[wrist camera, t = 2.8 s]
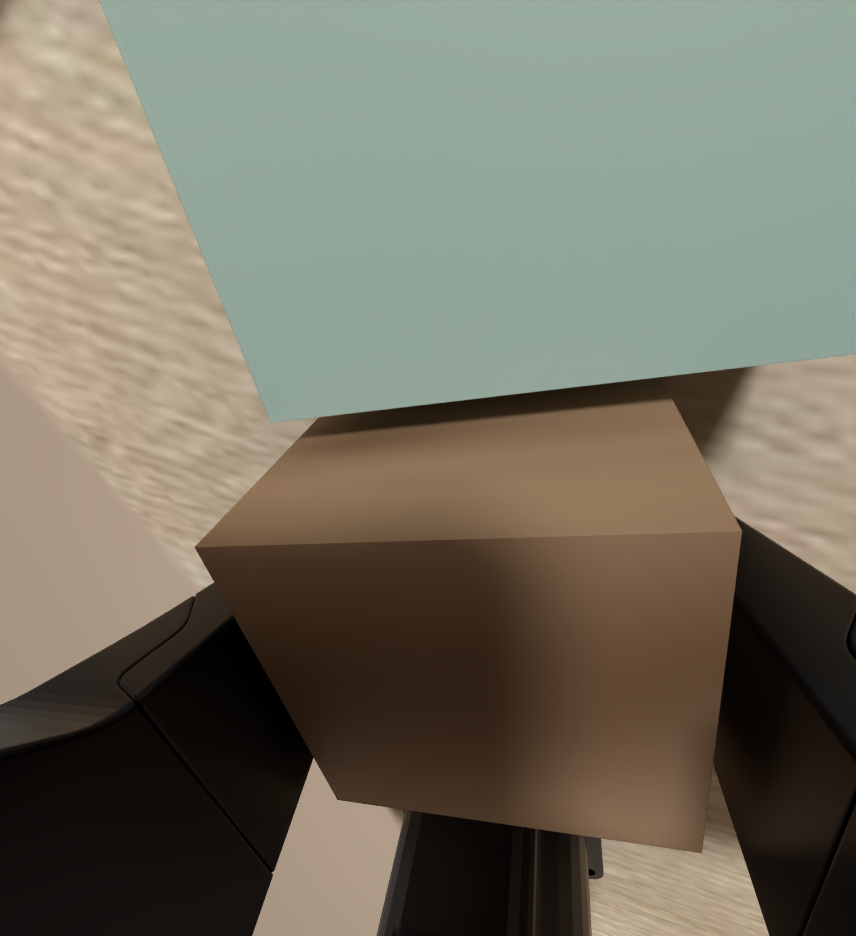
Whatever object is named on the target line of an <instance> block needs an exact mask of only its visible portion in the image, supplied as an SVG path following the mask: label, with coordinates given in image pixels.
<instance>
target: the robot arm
mask: <svg viewBox="0 0 856 936" xmlns="http://www.w3.org/2000/svg"><path fill="white" fill-rule="evenodd" d="M734 517H735V516H734ZM735 519H736V521H737V523H738V525H739V526H740V528H741V530H742V536H741V544H740V552H739V560H738V567H737V575H736V583H735V591H734V599H733V607H732V615H731V623H730V631H729V639H728V647H727V655H726V663H725V671H724V679H723V687H722V695H721V703H720V711H719V719H718V727H717V735H716V743H715V751H714V759H713V764H714V767H715V770H716V773H717V777H718V780H719V783H720V786H721V789H722V792H723V795H724V798H725V801H726V804H727V807H728V810H729V813H730V816H731V819H732V822H733V825H734V829H735V832H736V835H737V838H738V841H739V844H740V847H741V850H742V853H743V856H744V859H745V862H746V865H747V868H748V871H749V874H750V877H751V880H752V884H753V887H754V890H755V893H756V896H757V899H758V902H759V905H760V908H761V911H762V914H763V917H764V920H765V923H766V926H767V929H768V932H769V936H856V594H855V593H853V592H852V591H850V590H848V589H847V588H845V587H844V586H842V585H841V584H839V583H838V582H836V581H834V580H833V579H831V578H830V577H828V576H827V575H825V574H824V573H822V572H821V571H819V570H817V569H816V568H814V567H813V566H811V565H810V564H808V563H807V562H805V561H803V560H802V559H800V558H799V557H797V556H796V555H794V554H793V553H791V552H790V551H788V550H786V549H785V548H783V547H782V546H780V545H779V544H777V543H776V542H774V541H772V540H771V539H769V538H768V537H766V536H765V535H763V534H762V533H760V532H758V531H757V530H755V529H754V528H752V527H751V526H749V525H748V524H746V523H745V522H743V521H741V520H740V519H738V518H737V517H735ZM313 758H314V757H313V755H312V754H311V752H310V750H309V748H308V747H307V745H306V743H305V741H304V739H303V738H302V736H301V734H300V732H299V731H298V729H297V727H296V725H295V724H294V722H293V720H292V718H291V716H290V715H289V713H288V711H287V709H286V708H285V706H284V704H283V702H282V701H281V699H280V697H279V695H278V694H277V692H276V690H275V688H274V686H273V685H272V683H271V681H270V679H269V678H268V676H267V674H266V672H265V671H264V669H263V667H262V665H261V663H260V662H259V660H258V658H257V656H256V655H255V653H254V651H253V649H252V648H251V646H250V644H249V642H248V640H247V639H246V637H245V635H244V633H243V632H242V630H241V628H240V626H239V625H238V623H237V621H236V619H235V618H234V616H233V614H232V612H231V610H230V609H229V607H228V605H227V603H226V602H225V600H224V598H223V596H222V595H221V593H220V591H219V589H218V587H217V586H216V584H215V582H214V583H213V584H211V585H209V586H208V587H206V588H205V589H203V590H201V591H200V592H198V593H197V594H196V596H195V597H194V596H192V597H190V598H189V599H187V600H186V601H184V602H182V603H181V604H179V605H178V606H176V607H174V608H173V609H171V610H170V611H168V612H166V613H165V614H163V615H161V616H160V617H158V618H156V619H155V620H153V621H151V622H150V623H148V624H147V625H145V626H143V627H142V628H140V629H138V630H136V631H135V632H133V633H131V634H129V635H128V636H126V637H124V638H122V639H121V640H119V641H117V642H116V643H114V644H112V645H110V646H109V647H107V648H105V649H103V650H101V651H100V652H98V653H96V654H94V655H93V656H91V657H89V658H87V659H86V660H84V661H82V662H80V663H78V664H77V665H75V666H73V667H71V668H69V669H68V670H66V671H64V672H63V673H61V674H59V675H57V676H55V677H54V678H52V679H50V680H49V681H47V682H45V683H43V684H41V685H39V686H38V687H36V688H34V689H33V690H30V691H29V692H27V693H25V694H23V695H21V696H19V697H17V698H15V699H13V700H10V701H8V702H6V703H4V704H1V705H0V936H252V934H253V931H254V928H255V925H256V923H257V920H258V917H259V914H260V911H261V908H262V905H263V902H264V900H265V896H266V894H267V891H268V888H269V885H270V882H271V879H272V877H273V874H272V873H271V872H273V871H274V870H275V867H276V864H277V861H278V858H279V855H280V853H281V850H282V847H283V844H284V841H285V838H286V835H287V832H288V830H289V827H290V824H291V821H292V818H293V815H294V812H295V809H296V807H297V804H298V801H299V798H300V795H301V792H302V789H303V786H304V783H305V780H306V778H307V775H308V772H309V769H310V766H311V763H312V760H313ZM403 811H404V813H405V815H404V820H403V824H402V828H401V833H400V837H399V841H398V846H397V851H396V854H395V859H394V863H393V868H392V872H391V876H390V880H389V884H388V889H387V893H386V898H385V902H384V906H383V910H382V915H381V919H380V923H379V928H378V932H377V936H592V934H591V914H590V895H589V879H599V878H601V877H603V861H602V849H601V838H595V837H589V836H582V835H575V834H568V833H561V832H554V831H548V830H541V829H534V828H527V827H520V826H513V825H506V824H500V823H493V822H486V821H479V820H472V819H465V818H459V817H452V816H445V815H438V814H431V813H424V812H417V811H411V810H404V809H403Z"/></svg>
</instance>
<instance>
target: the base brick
mask: <svg viewBox="0 0 856 936" xmlns="http://www.w3.org/2000/svg"><path fill="white" fill-rule="evenodd" d="M99 1H100V4H101V6H102V9H103V11H104V13H105V16H106V18H107V21H108V23H109V26H110V28H111V31H112V33H113V36H114V38H115V41H116V43H117V45H118V48H119V50H120V53H121V55H122V58H123V60H124V63H125V65H126V68H127V70H128V73H129V75H130V77H131V80H132V82H133V85H134V87H135V90H136V92H137V95H138V97H139V100H140V102H141V105H142V107H143V109H144V112H145V114H146V117H147V119H148V122H149V124H150V127H151V129H152V132H153V134H154V137H155V139H156V141H157V144H158V146H159V149H160V151H161V154H162V156H163V159H164V161H165V164H166V166H167V169H168V171H169V174H170V176H171V178H172V181H173V183H174V186H175V188H176V191H177V193H178V196H179V198H180V201H181V203H182V206H183V208H184V210H185V213H186V215H187V218H188V220H189V223H190V225H191V228H192V230H193V233H194V235H195V238H196V240H197V242H198V245H199V247H200V250H201V252H202V255H203V257H204V260H205V262H206V265H207V267H208V270H209V272H210V274H211V277H212V279H213V282H214V284H215V287H216V289H217V292H218V294H219V297H220V299H221V302H222V304H223V306H224V309H225V311H226V314H227V316H228V319H229V321H230V324H231V326H232V329H233V331H234V334H235V336H236V338H237V341H238V343H239V346H240V348H241V351H242V353H243V356H244V358H245V361H246V363H247V366H248V368H249V370H250V373H251V375H252V378H253V380H254V383H255V385H256V388H257V390H258V393H259V395H260V398H261V400H262V402H263V405H264V407H265V410H266V412H267V415H268V417H269V420H270V422H271V423H273V422H282V421H290V420H299V419H307V418H316V417H324V416H333V415H341V414H350V413H358V412H367V411H375V410H384V409H392V408H401V407H410V406H418V405H427V404H435V403H444V402H452V401H461V400H469V399H478V398H486V397H495V396H503V395H512V394H520V393H529V392H537V391H546V390H554V389H563V388H572V387H580V386H589V385H597V384H606V383H614V382H623V381H631V380H640V379H648V378H657V377H665V376H674V375H682V374H691V373H699V372H708V371H717V370H725V369H734V368H742V367H751V366H759V365H768V364H776V363H785V362H793V361H802V360H810V359H819V358H827V357H836V356H844V355H853V354H856V0H99Z"/></svg>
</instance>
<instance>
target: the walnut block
mask: <svg viewBox="0 0 856 936" xmlns="http://www.w3.org/2000/svg"><path fill="white" fill-rule="evenodd" d="M741 536H742V530H741V528H740V526H739V525H738V523H737V521H736V519H735V517H734V515H733V513H732V511H731V509H730V507H729V506H728V504H727V502H726V500H725V498H724V496H723V494H722V492H721V490H720V489H719V487H718V485H717V483H716V481H715V479H714V477H713V475H712V473H711V471H710V470H709V468H708V466H707V464H706V462H705V460H704V458H703V456H702V454H701V453H700V451H699V449H698V447H697V445H696V443H695V441H694V439H693V437H692V435H691V434H690V432H689V430H688V428H687V426H686V424H685V422H684V420H683V418H682V417H681V415H680V413H679V411H678V409H677V407H676V405H675V403H674V401H673V400H672V398H671V396H670V394H669V392H668V390H667V388H666V386H665V384H664V382H663V381H662V379H661V377H657V378H648V379H640V380H631V381H623V382H614V383H606V384H597V385H589V386H580V387H572V388H563V389H554V390H546V391H537V392H529V393H520V394H512V395H503V396H495V397H486V398H478V399H469V400H461V401H452V402H444V403H435V404H427V405H418V406H410V407H401V408H392V409H384V410H375V411H367V412H358V413H350V414H341V415H333V416H324V417H319V418H318V419H317V420H316V421H315V422H314V423H313V424H312V425H311V426H310V427H309V428H308V430H307V431H306V432H305V433H304V434H303V435H302V436H301V437H300V438H299V439H298V440H297V441H296V442H295V443H294V444H293V445H292V446H291V447H290V448H289V449H288V450H287V451H286V452H285V454H284V455H283V456H282V457H281V458H280V459H279V460H278V461H277V462H276V463H275V464H274V465H273V466H272V467H271V468H270V469H269V470H268V471H267V472H266V473H265V474H264V475H263V476H262V478H261V479H260V480H259V481H258V482H257V483H256V484H255V485H254V486H253V487H252V488H251V489H250V490H249V491H248V492H247V493H246V494H245V495H244V496H243V497H242V498H241V499H240V500H239V502H238V503H237V504H236V505H235V506H234V507H233V508H232V509H231V510H230V511H229V512H228V513H227V514H226V515H225V516H224V517H223V518H222V519H221V520H220V521H219V522H218V523H217V524H216V526H215V527H214V528H213V529H212V530H211V531H210V532H209V533H208V534H207V535H206V536H205V537H204V538H203V539H202V540H201V541H200V542H199V543H198V544H197V545H196V546H195V549H196V550H197V552H198V554H199V556H200V557H201V559H202V561H203V563H204V565H205V566H206V568H207V570H208V572H209V573H210V575H211V577H212V579H213V580H214V582H215V584H216V586H217V587H218V589H219V591H220V593H221V595H222V596H223V598H224V600H225V602H226V603H227V605H228V607H229V609H230V610H231V612H232V614H233V616H234V618H235V619H236V621H237V623H238V625H239V626H240V628H241V630H242V632H243V633H244V635H245V637H246V639H247V640H248V642H249V644H250V646H251V648H252V649H253V651H254V653H255V655H256V656H257V658H258V660H259V662H260V663H261V665H262V667H263V669H264V671H265V672H266V674H267V676H268V678H269V679H270V681H271V683H272V685H273V686H274V688H275V690H276V692H277V694H278V695H279V697H280V699H281V701H282V702H283V704H284V706H285V708H286V709H287V711H288V713H289V715H290V716H291V718H292V720H293V722H294V724H295V725H296V727H297V729H298V731H299V732H300V734H301V736H302V738H303V739H304V741H305V743H306V745H307V747H308V748H309V750H310V752H311V754H312V755H313V757H314V759H315V761H316V762H317V764H318V766H319V768H320V769H321V771H322V773H323V775H324V776H325V778H326V780H327V782H328V783H329V785H330V787H331V789H332V791H333V792H334V794H335V796H336V798H337V800H342V801H349V802H356V803H363V804H370V805H376V806H383V807H390V808H397V809H404V810H411V811H417V812H424V813H431V814H438V815H445V816H452V817H459V818H465V819H472V820H479V821H486V822H493V823H500V824H506V825H513V826H520V827H527V828H534V829H541V830H548V831H554V832H561V833H568V834H575V835H582V836H589V837H595V838H602V839H609V840H616V841H623V842H630V843H637V844H643V845H650V846H657V847H664V848H671V849H678V850H684V851H691V852H698V853H702V847H703V839H704V831H705V823H706V815H707V807H708V799H709V791H710V783H711V775H712V767H713V759H714V751H715V743H716V735H717V727H718V719H719V711H720V703H721V695H722V687H723V679H724V671H725V663H726V655H727V647H728V639H729V631H730V623H731V615H732V607H733V599H734V591H735V583H736V575H737V567H738V560H739V552H740V544H741Z"/></svg>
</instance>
